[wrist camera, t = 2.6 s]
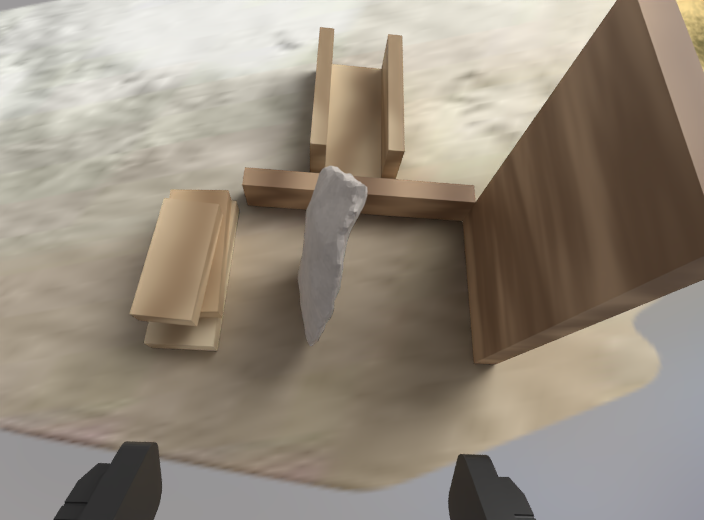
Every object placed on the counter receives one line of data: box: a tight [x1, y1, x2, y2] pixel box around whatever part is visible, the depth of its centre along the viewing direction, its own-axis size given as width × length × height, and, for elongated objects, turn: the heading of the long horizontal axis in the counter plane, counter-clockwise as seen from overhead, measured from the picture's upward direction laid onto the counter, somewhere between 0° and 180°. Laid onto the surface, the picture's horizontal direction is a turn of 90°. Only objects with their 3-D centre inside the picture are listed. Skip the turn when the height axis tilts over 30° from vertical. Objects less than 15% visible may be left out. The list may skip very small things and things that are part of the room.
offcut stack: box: [130, 190, 239, 351], centre depth 29 cm, size 5×11×4 cm, turn 178°
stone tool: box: [298, 166, 368, 346], centre depth 25 cm, size 9×3×15 cm, turn 6°
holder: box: [310, 27, 405, 179], centre depth 36 cm, size 7×12×4 cm, turn 178°
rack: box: [242, 0, 704, 364], centre depth 23 cm, size 19×13×20 cm
